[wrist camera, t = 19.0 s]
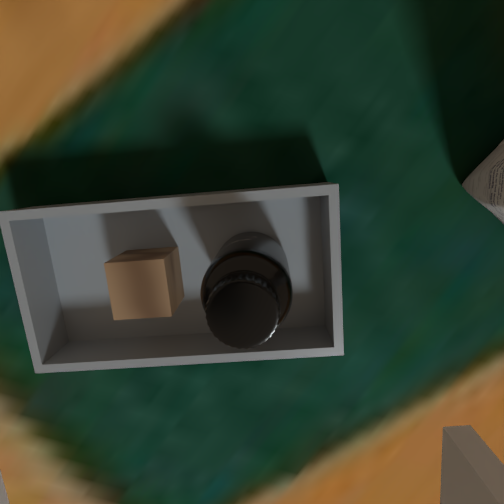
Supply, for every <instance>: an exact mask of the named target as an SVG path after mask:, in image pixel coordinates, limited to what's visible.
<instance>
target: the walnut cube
mask: <svg viewBox="0 0 504 504" xmlns="http://www.w3.org/2000/svg"><path fill="white" fill-rule="evenodd" d="M104 268H105V273H106V279H107V285H108V290H109V296H110V302H111V307H112V313H113V319H114V320H125V319H141V318H156V317H172V315H173V314H174V312H175V311H176V309H177V308H178V306H179V304H180V303H181V301H182V300H183V298H184V297H185V295H184V288H183V280H182V272H181V264H180V257H179V249H178V247H164V248H151V249H137V250H126V251H124V252H123V253H121V254H119V255H117V256H116V257H114V258H112V259H110V260H109V261H107V262H105V263H104Z"/></svg>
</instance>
